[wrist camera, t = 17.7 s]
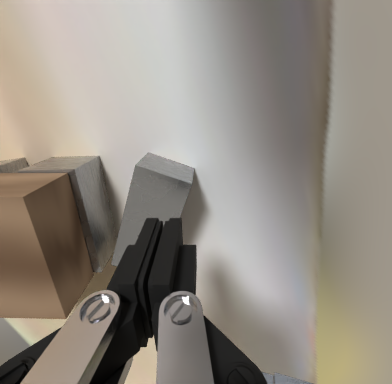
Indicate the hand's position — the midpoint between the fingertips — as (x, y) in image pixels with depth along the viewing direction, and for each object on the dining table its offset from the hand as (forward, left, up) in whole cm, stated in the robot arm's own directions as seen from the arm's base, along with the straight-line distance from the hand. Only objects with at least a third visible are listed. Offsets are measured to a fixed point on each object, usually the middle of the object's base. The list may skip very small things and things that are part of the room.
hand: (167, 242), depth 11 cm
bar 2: (+2, -2, -9) cm, 10 cm away
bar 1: (+2, -9, -9) cm, 13 cm away
